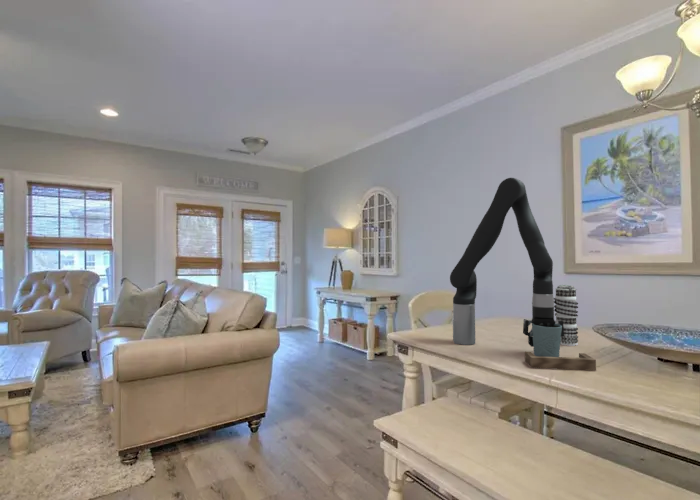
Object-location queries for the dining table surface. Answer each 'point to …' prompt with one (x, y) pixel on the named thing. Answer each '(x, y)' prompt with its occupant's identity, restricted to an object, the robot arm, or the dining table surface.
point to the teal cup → (546, 340)
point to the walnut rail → (561, 362)
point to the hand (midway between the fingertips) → (543, 346)
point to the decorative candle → (567, 313)
